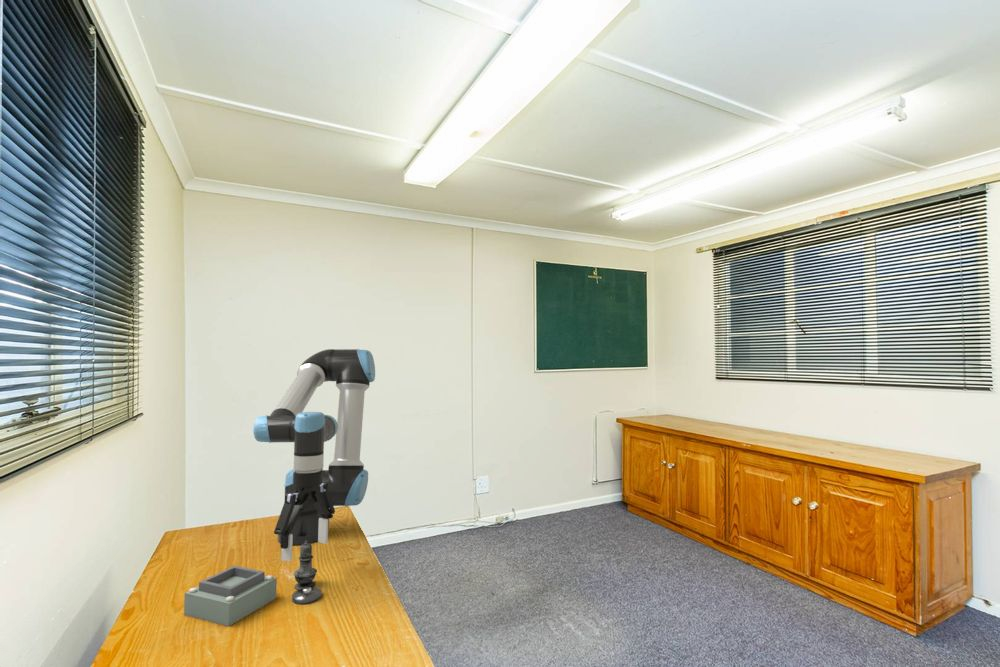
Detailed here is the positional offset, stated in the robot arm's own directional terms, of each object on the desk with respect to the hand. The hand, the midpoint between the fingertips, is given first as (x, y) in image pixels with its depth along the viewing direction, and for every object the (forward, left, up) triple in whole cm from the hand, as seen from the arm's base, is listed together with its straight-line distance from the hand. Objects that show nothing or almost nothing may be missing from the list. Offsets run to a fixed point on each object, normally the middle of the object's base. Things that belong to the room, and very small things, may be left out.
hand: (305, 551), depth 131 cm
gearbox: (+15, -10, -9) cm, 20 cm away
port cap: (+5, +5, -9) cm, 11 cm away
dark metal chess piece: (0, 0, -9) cm, 9 cm away
